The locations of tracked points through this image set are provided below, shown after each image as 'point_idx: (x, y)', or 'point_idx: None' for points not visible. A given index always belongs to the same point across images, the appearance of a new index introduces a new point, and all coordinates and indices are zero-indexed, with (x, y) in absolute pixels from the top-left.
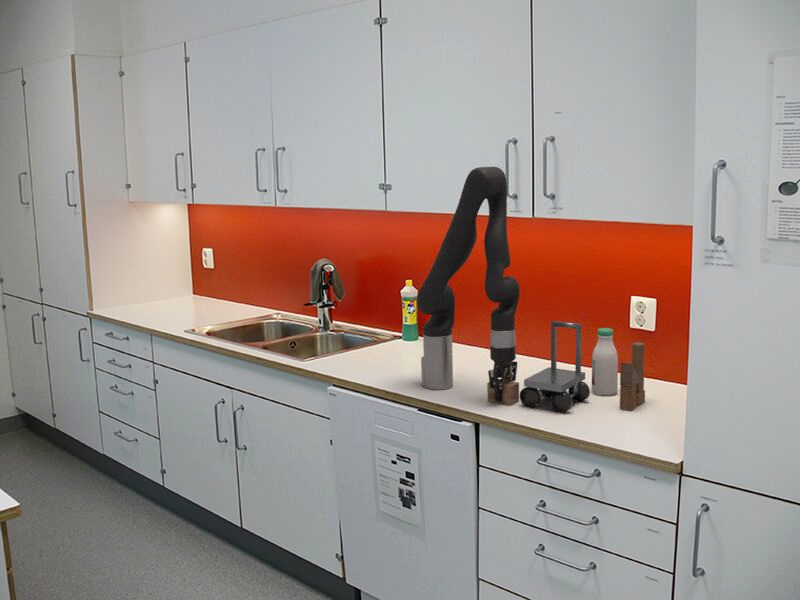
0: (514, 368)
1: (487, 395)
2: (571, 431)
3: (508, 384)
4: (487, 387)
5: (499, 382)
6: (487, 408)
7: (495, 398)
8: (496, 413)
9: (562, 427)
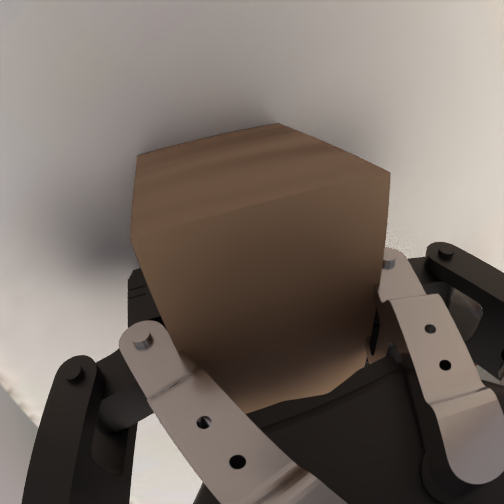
0: (497, 374)
1: (136, 171)
2: (158, 498)
3: (261, 408)
4: (133, 206)
5: (267, 329)
6: (35, 276)
7: (130, 284)
8: (39, 362)
9: (160, 488)
